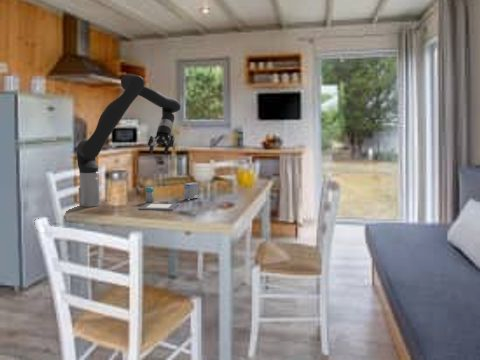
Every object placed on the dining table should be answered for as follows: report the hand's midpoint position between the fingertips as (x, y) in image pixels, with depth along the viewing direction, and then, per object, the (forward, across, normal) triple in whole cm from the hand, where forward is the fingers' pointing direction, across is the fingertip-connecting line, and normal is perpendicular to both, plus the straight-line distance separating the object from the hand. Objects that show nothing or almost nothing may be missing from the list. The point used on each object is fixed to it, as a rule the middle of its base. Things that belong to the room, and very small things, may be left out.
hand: (158, 152), depth 250 cm
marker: (+26, -1, +9) cm, 28 cm away
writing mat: (+34, +9, +1) cm, 35 cm away
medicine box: (+17, +16, +22) cm, 32 cm away
